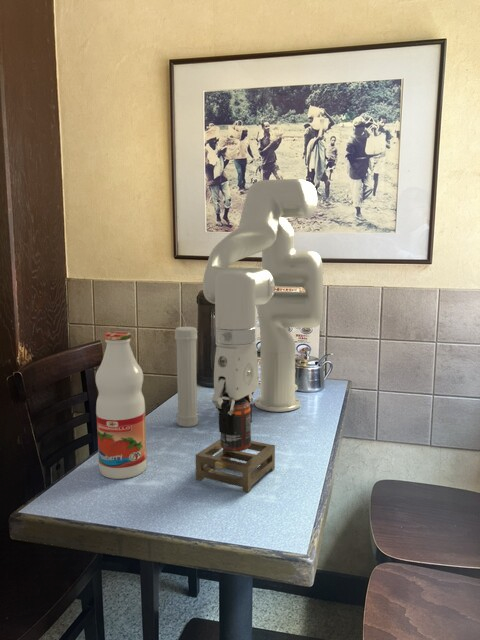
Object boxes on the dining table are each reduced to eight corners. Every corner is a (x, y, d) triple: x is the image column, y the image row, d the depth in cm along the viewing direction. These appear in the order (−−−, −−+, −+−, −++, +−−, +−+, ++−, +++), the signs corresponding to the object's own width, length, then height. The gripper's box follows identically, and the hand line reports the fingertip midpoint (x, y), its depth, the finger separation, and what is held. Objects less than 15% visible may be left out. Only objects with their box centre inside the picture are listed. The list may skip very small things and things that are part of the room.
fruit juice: (154, 462, 109) (150, 329, 105) (134, 482, 100) (129, 338, 96) (113, 457, 112) (107, 327, 107) (90, 477, 103) (82, 336, 98)
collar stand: (225, 457, 111) (225, 435, 111) (274, 469, 106) (274, 445, 105) (193, 481, 101) (193, 456, 100) (246, 494, 95) (245, 468, 95)
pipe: (195, 428, 129) (193, 306, 124) (170, 426, 130) (167, 306, 125) (201, 420, 134) (199, 303, 129) (177, 418, 135) (175, 303, 131)
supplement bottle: (249, 440, 106) (249, 386, 104) (252, 452, 100) (252, 394, 98) (219, 441, 105) (219, 386, 104) (221, 453, 100) (220, 395, 98)
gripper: (229, 346, 90) (230, 446, 93) (273, 331, 105) (272, 417, 108) (193, 342, 94) (194, 439, 96) (240, 328, 109) (240, 412, 111)
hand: (235, 426), depth 102 cm, fingers closed on supplement bottle, 6 cm apart
